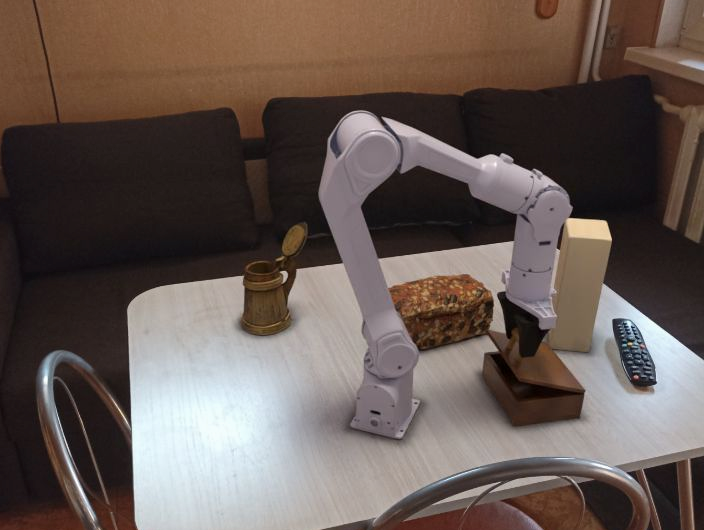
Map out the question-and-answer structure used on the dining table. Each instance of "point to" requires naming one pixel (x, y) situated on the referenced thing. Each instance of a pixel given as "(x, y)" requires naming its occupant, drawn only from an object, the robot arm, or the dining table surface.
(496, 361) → the trinket box
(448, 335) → the bread
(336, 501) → the dining table surface
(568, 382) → the box lid
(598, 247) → the beige tall block
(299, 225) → the wooden mug
